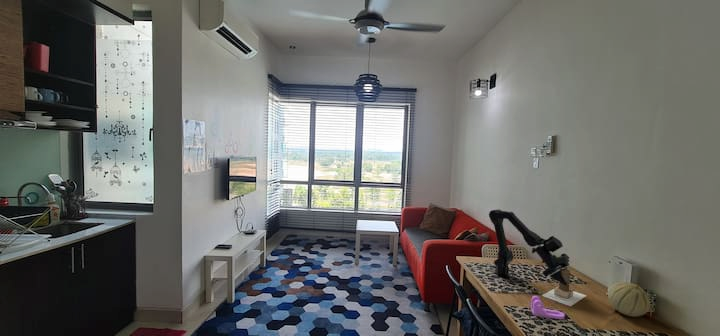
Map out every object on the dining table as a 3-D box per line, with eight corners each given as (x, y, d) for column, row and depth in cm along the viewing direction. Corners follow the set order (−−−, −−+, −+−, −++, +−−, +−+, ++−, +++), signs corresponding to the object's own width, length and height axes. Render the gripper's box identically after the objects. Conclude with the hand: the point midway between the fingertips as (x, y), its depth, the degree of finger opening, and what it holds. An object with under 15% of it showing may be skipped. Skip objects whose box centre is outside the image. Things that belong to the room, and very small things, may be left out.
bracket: (533, 315, 142) (534, 300, 141) (530, 309, 147) (531, 295, 147) (566, 320, 138) (567, 305, 137) (562, 314, 143) (563, 299, 143)
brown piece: (567, 299, 155) (568, 273, 155) (554, 294, 160) (555, 270, 160) (573, 295, 159) (574, 270, 159) (560, 291, 164) (561, 267, 164)
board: (570, 308, 149) (570, 306, 148) (541, 297, 159) (541, 295, 159) (586, 297, 160) (586, 295, 160) (558, 287, 171) (558, 286, 171)
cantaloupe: (607, 302, 155) (609, 273, 154) (647, 313, 145) (649, 282, 145) (606, 314, 143) (609, 283, 142) (650, 327, 134) (652, 293, 133)
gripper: (550, 252, 156) (574, 281, 148) (566, 246, 167) (589, 272, 158) (533, 262, 163) (555, 291, 154) (549, 256, 174) (570, 282, 165)
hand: (568, 284), depth 158 cm, fingers closed on brown piece, 4 cm apart
